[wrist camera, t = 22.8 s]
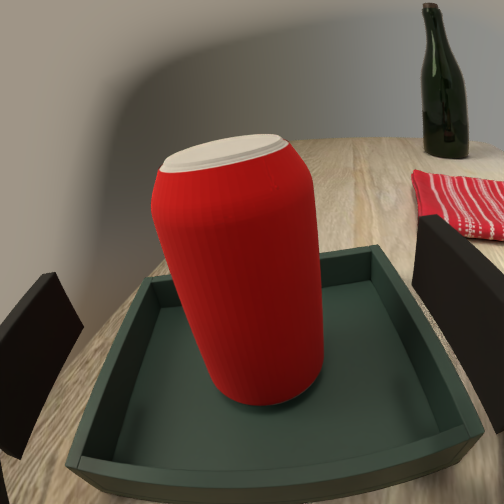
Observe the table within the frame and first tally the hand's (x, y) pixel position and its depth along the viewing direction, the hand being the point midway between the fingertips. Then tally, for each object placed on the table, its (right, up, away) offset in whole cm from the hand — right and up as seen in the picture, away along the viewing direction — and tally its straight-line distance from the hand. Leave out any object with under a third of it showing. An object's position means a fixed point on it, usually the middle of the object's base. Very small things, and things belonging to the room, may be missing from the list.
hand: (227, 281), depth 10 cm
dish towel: (+31, +5, +18) cm, 36 cm away
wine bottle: (+42, +21, +44) cm, 64 cm away
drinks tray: (+2, -6, +7) cm, 9 cm away
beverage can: (+2, -6, +7) cm, 9 cm away
